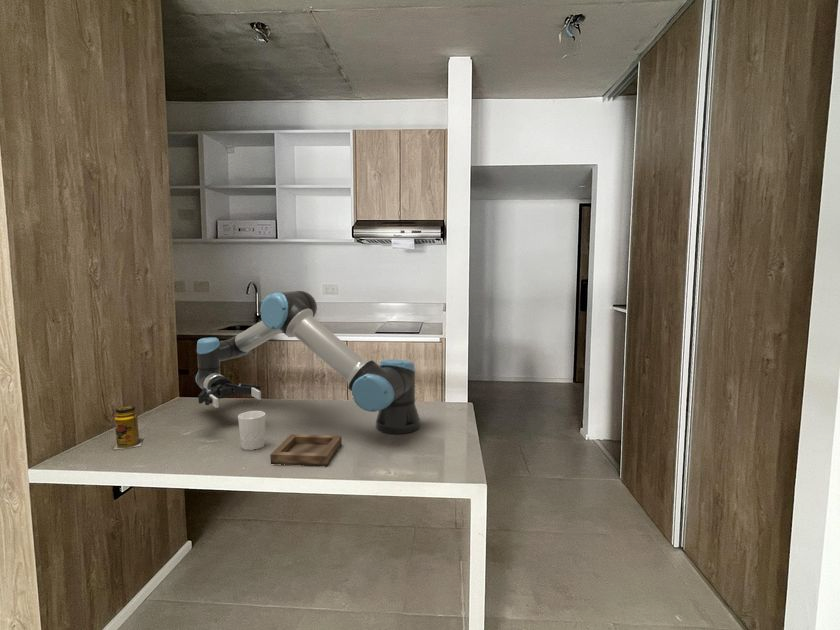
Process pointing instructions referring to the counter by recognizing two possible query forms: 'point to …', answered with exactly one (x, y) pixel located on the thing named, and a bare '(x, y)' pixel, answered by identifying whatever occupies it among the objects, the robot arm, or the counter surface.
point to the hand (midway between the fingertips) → (239, 399)
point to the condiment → (127, 428)
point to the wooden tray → (306, 450)
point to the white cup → (252, 429)
